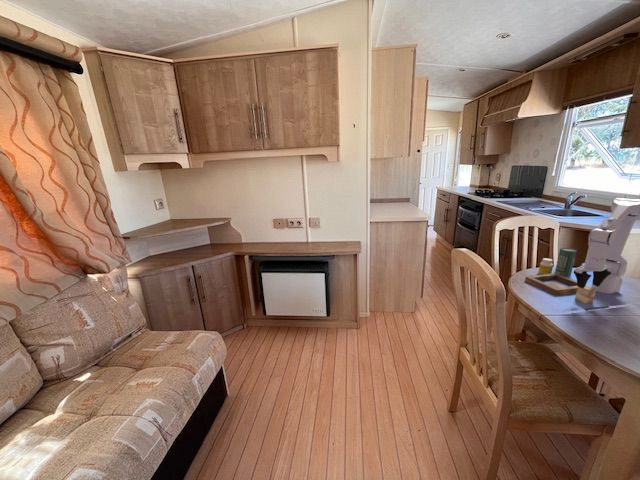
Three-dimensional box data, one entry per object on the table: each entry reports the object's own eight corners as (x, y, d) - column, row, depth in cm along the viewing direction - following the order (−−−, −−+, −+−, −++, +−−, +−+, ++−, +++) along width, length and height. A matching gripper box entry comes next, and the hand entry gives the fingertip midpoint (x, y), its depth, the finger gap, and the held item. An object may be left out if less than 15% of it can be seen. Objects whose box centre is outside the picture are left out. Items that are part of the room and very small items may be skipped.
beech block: (582, 298, 117) (586, 284, 115) (592, 303, 113) (596, 288, 111) (574, 299, 116) (578, 285, 115) (584, 304, 113) (588, 289, 111)
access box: (554, 279, 137) (556, 273, 136) (588, 293, 122) (590, 286, 121) (524, 282, 135) (525, 276, 134) (555, 297, 120) (556, 290, 119)
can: (572, 277, 139) (579, 250, 135) (564, 278, 138) (570, 251, 134) (560, 272, 145) (566, 247, 141) (551, 274, 143) (557, 248, 139)
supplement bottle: (540, 272, 146) (543, 256, 143) (552, 275, 141) (555, 259, 139) (536, 275, 143) (539, 259, 140) (548, 278, 139) (552, 261, 136)
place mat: (580, 295, 121) (581, 294, 120) (609, 307, 110) (609, 306, 110) (560, 297, 119) (560, 297, 119) (586, 310, 109) (587, 309, 109)
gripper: (599, 252, 113) (592, 280, 117) (570, 255, 112) (564, 284, 116) (619, 258, 107) (610, 287, 110) (589, 261, 105) (581, 291, 109)
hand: (588, 286), depth 113 cm, fingers open, 7 cm apart
